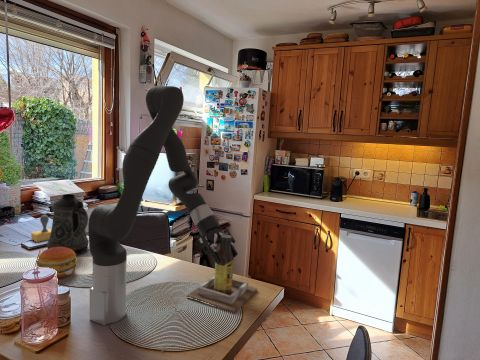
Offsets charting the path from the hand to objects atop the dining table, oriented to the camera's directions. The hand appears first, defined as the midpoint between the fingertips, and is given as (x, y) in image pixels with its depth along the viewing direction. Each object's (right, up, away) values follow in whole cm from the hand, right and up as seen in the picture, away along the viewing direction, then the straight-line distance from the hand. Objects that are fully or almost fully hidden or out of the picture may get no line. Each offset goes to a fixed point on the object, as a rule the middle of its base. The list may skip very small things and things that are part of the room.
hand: (228, 259), depth 114 cm
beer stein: (-71, -4, +35) cm, 79 cm away
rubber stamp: (-91, -2, +48) cm, 102 cm away
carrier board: (-2, -13, +3) cm, 13 cm away
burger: (-64, -8, +11) cm, 66 cm away
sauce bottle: (-2, -12, +3) cm, 12 cm away
